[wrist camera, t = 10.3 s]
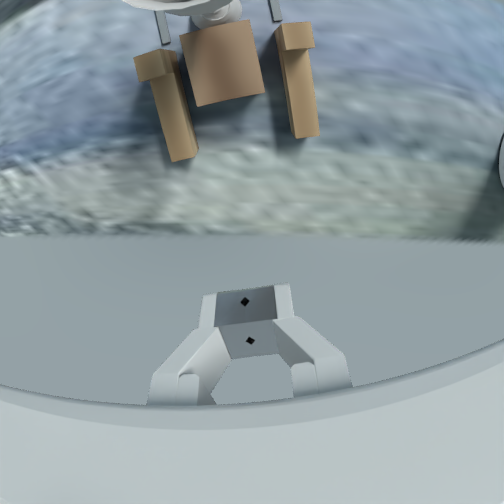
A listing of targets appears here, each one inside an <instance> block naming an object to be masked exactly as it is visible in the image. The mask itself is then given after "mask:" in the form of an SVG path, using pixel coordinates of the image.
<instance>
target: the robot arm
mask: <svg viewBox="0 0 504 504" xmlns="http://www.w3.org/2000/svg"><path fill="white" fill-rule="evenodd" d="M499 174H500V179H501V183H502V185H503V187H504V138H503V141H502V145H501V150H500V156H499ZM271 354H279V355H280V356H281V357H282V358H283V359H284V361H285V362H286V363H287V364H288V365H289V367H290V368H291V373H292V385H293V394H294V398H288V399H281V400H271V401H263V402H252V403H239V404H223V405H217V404H216V403H215V401H214V399H213V398H212V396H211V395H210V393H211V392H212V390H213V389H214V387H215V386H216V384H217V383H218V381H219V380H220V378H221V376H222V375H223V373H224V372H225V370H226V369H227V367H228V365H229V364H230V362H231V359H237V358H244V357H252V356H261V355H271ZM0 504H504V339H502V340H500V341H497V342H496V343H493V344H490V345H488V346H486V347H484V348H481V349H478V350H476V351H473V352H471V353H468V354H466V355H463V356H460V357H458V358H455V359H452V360H449V361H446V362H443V363H440V364H437V365H435V366H431V367H429V368H425V369H422V370H419V371H415V372H412V373H408V374H405V375H402V376H398V377H394V378H390V379H386V380H382V381H379V382H375V383H371V384H366V385H361V386H357V387H352V383H351V379H350V375H349V370H348V367H347V363H346V359H345V355H344V354H343V353H342V352H341V351H340V350H338V349H337V348H336V347H335V346H334V345H332V344H331V343H330V342H329V341H328V340H326V339H325V338H324V337H323V336H322V335H321V334H319V333H318V332H317V331H316V330H314V329H313V328H312V327H311V326H310V325H309V324H307V323H306V322H305V321H304V320H303V319H302V318H300V317H299V316H296V317H294V311H293V305H292V298H291V292H290V286H289V283H288V282H285V283H280V284H274V285H269V286H262V287H256V288H249V289H242V290H234V291H224V292H218V293H208V294H204V295H203V297H202V303H201V310H200V316H199V323H198V329H193V331H192V332H191V333H190V334H189V335H188V336H187V337H186V338H185V340H183V342H182V343H181V344H180V345H179V346H178V347H177V348H176V349H175V350H174V351H173V353H172V354H171V355H170V356H169V357H168V358H167V359H166V360H165V361H164V362H163V363H162V365H161V366H160V367H159V368H158V369H157V370H156V371H155V372H154V373H153V375H152V381H151V385H150V390H149V395H148V400H147V405H134V404H119V403H118V404H117V403H107V402H97V401H88V400H79V399H71V398H65V397H59V396H52V395H47V394H41V393H36V392H31V391H27V390H21V389H17V388H13V387H9V386H5V385H1V384H0Z"/></svg>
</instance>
